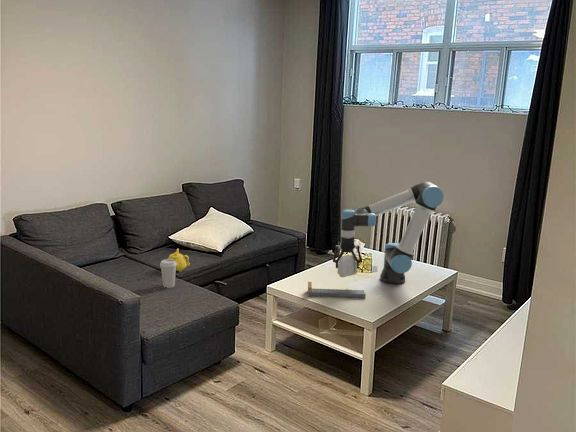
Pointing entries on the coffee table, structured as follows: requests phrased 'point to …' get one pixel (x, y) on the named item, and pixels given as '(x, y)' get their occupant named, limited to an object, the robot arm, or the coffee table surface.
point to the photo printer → (346, 266)
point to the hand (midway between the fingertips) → (347, 273)
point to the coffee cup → (168, 272)
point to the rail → (335, 293)
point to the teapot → (179, 260)
